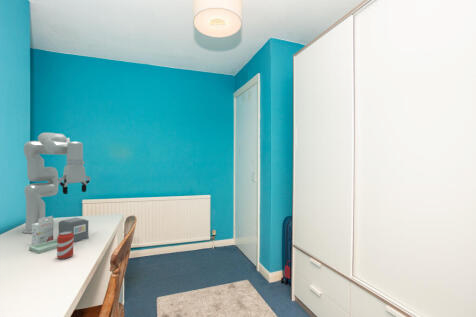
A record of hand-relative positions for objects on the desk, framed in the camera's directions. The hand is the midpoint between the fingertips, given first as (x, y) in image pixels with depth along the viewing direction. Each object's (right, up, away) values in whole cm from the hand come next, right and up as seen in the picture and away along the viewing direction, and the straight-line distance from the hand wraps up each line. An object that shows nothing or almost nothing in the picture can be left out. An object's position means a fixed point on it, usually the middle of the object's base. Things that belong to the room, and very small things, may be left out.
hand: (74, 192), depth 130 cm
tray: (-9, -29, -7) cm, 31 cm away
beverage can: (+9, -29, -19) cm, 36 cm away
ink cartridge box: (-19, -29, 0) cm, 35 cm away
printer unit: (-5, -29, +6) cm, 30 cm away
